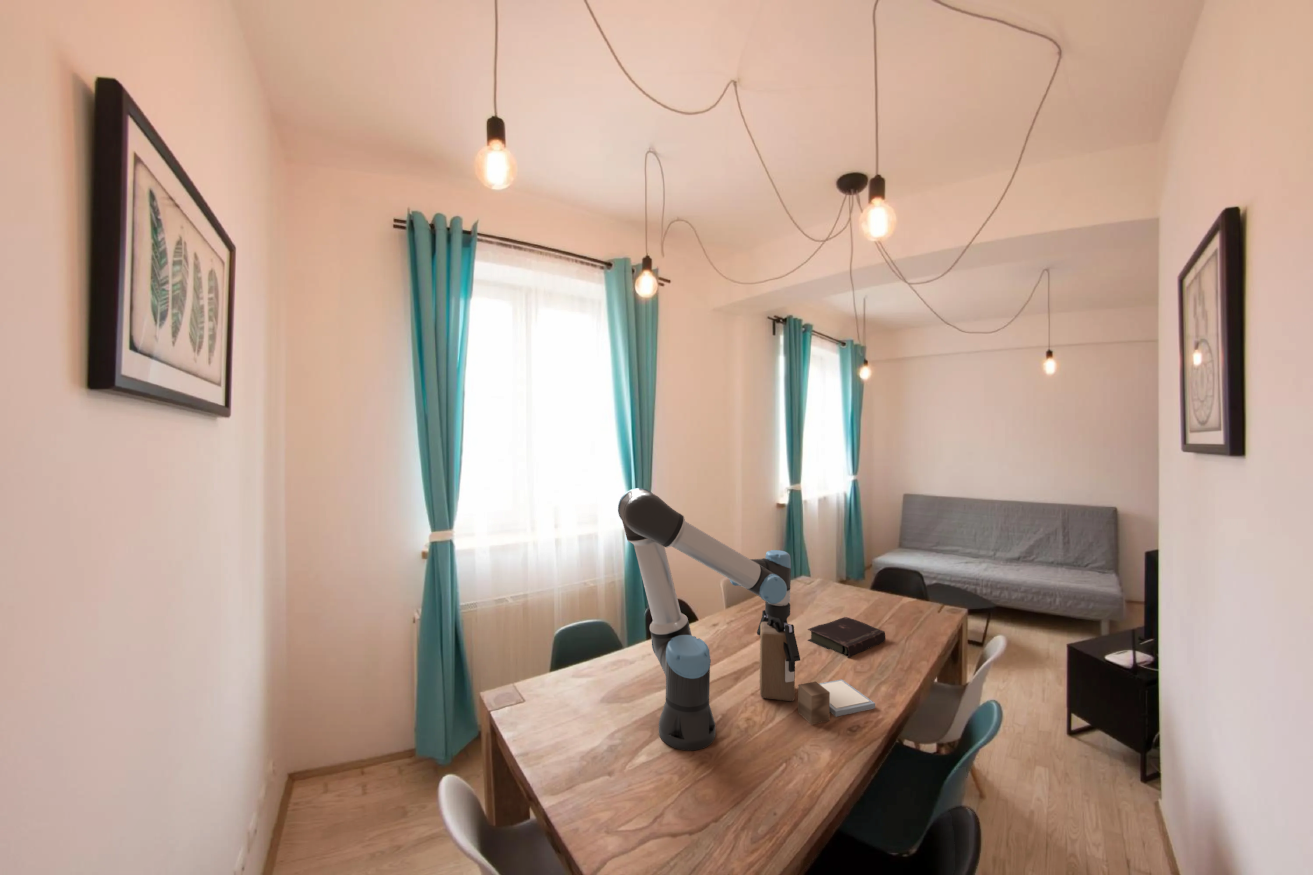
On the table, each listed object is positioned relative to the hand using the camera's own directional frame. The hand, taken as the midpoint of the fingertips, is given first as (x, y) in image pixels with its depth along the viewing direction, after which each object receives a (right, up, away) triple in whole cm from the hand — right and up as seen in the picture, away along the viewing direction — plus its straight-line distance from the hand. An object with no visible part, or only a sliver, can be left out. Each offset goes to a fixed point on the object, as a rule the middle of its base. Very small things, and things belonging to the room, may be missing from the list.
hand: (776, 670), depth 143 cm
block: (0, -7, 0) cm, 7 cm away
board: (+18, -7, -3) cm, 19 cm away
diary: (+37, -8, +38) cm, 53 cm away
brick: (+7, -7, -12) cm, 16 cm away
